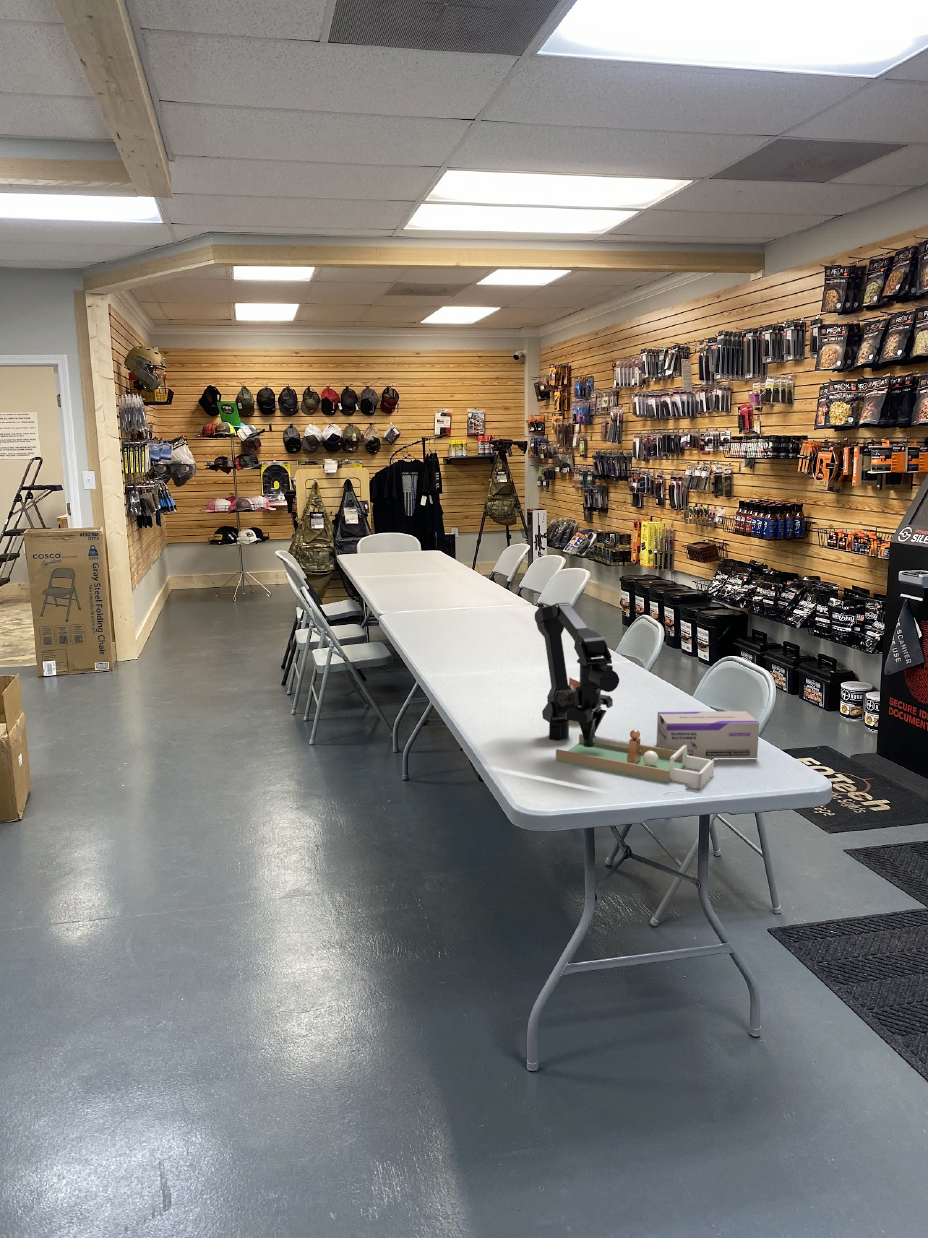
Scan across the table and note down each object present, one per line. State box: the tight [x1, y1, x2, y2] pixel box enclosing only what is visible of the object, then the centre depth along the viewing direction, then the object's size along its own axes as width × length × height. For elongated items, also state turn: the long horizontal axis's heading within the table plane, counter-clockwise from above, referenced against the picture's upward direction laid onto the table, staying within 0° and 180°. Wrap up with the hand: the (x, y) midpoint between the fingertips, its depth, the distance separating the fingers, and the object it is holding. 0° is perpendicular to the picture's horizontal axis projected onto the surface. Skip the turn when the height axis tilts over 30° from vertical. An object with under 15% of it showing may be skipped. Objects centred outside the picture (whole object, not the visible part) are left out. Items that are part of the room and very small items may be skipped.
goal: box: [669, 745, 715, 790], centre depth 226 cm, size 12×8×7 cm
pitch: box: [555, 733, 688, 784], centre depth 236 cm, size 16×31×4 cm, turn 59°
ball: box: [643, 751, 658, 766], centre depth 232 cm, size 4×4×4 cm
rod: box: [583, 723, 641, 764], centre depth 237 cm, size 5×16×9 cm, turn 59°
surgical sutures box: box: [656, 710, 760, 759], centre depth 245 cm, size 25×11×11 cm, turn 91°
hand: (588, 738), depth 240 cm, fingers closed on rod, 3 cm apart
